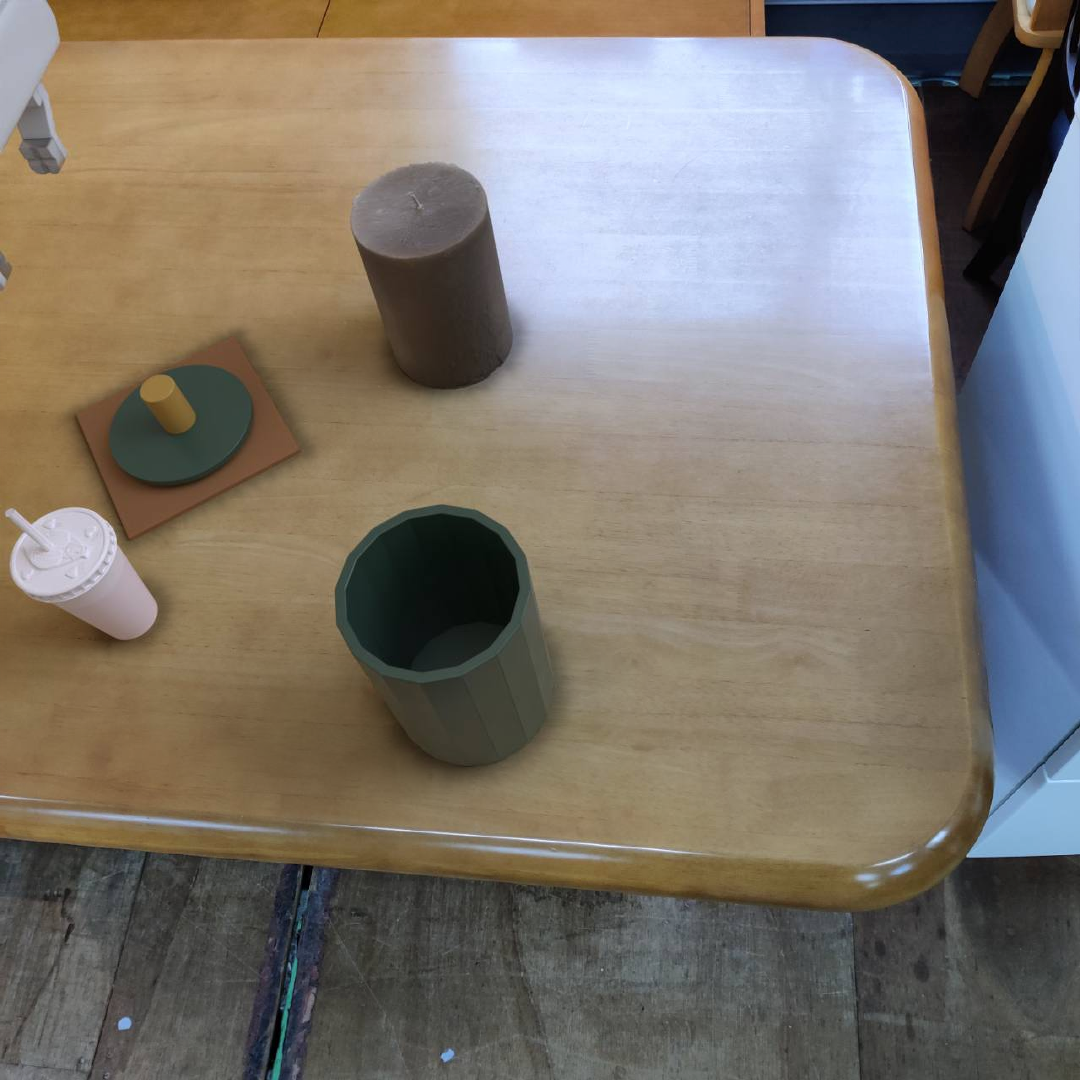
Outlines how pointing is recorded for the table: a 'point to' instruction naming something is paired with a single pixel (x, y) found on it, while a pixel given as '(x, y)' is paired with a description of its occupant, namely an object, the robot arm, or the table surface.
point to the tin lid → (181, 425)
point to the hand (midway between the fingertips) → (26, 221)
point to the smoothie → (81, 571)
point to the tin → (449, 632)
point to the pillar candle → (434, 272)
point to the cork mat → (161, 504)
